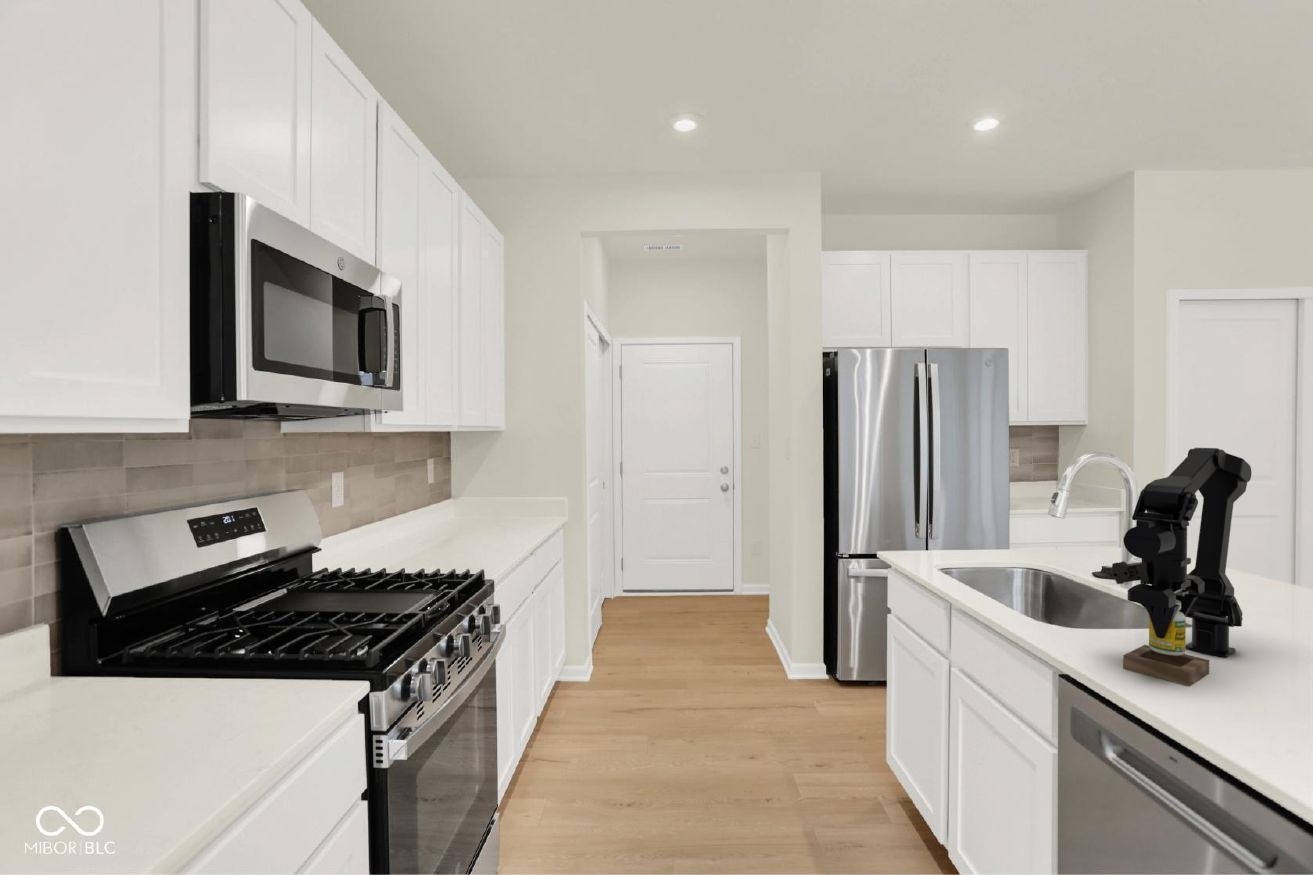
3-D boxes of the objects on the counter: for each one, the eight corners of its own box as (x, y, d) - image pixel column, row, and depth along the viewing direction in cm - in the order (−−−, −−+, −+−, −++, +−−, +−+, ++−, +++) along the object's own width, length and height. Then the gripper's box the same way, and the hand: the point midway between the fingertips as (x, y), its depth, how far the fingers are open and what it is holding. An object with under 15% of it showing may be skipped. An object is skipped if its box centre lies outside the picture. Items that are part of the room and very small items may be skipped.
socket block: (1144, 657, 126) (1144, 644, 126) (1209, 673, 118) (1209, 659, 118) (1123, 668, 121) (1123, 655, 121) (1189, 686, 112) (1189, 672, 112)
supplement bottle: (1155, 643, 123) (1155, 594, 123) (1190, 652, 118) (1190, 600, 118) (1143, 649, 120) (1144, 599, 120) (1179, 658, 115) (1179, 605, 115)
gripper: (1136, 539, 131) (1136, 615, 131) (1095, 551, 120) (1095, 633, 121) (1205, 548, 121) (1205, 629, 122) (1167, 561, 111) (1167, 650, 111)
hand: (1166, 634), depth 119 cm, fingers closed on supplement bottle, 5 cm apart
